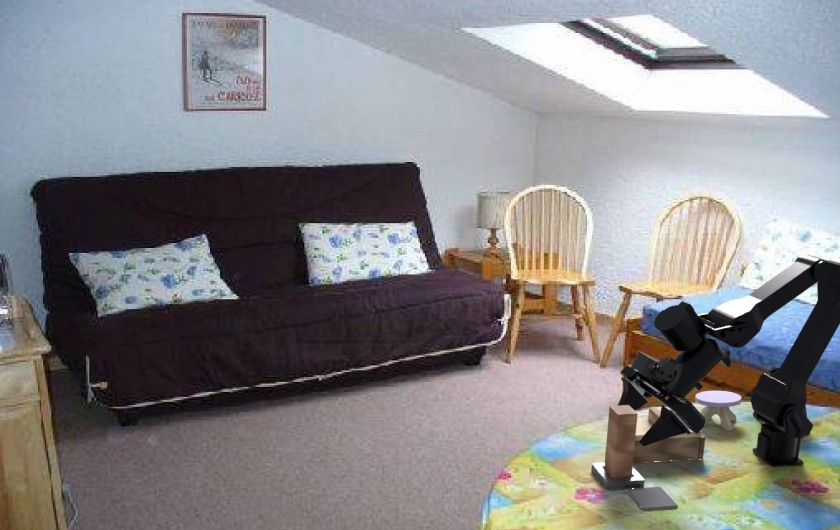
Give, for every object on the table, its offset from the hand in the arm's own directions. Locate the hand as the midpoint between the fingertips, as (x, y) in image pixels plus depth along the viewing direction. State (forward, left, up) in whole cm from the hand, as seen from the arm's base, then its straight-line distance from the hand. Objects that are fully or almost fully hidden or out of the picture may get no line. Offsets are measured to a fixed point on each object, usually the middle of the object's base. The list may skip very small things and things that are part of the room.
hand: (626, 432), depth 134 cm
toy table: (-29, -20, -9) cm, 36 cm away
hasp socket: (+1, 0, -9) cm, 9 cm away
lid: (-11, -8, -4) cm, 14 cm away
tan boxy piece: (-11, -8, -9) cm, 16 cm away
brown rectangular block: (+1, 0, -9) cm, 9 cm away
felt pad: (-2, +7, -9) cm, 11 cm away
